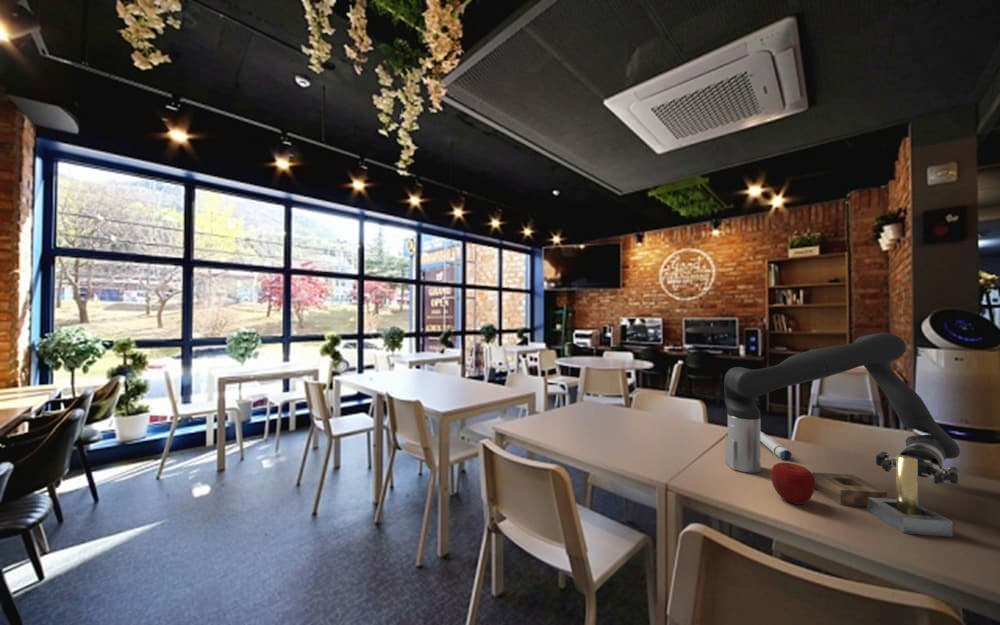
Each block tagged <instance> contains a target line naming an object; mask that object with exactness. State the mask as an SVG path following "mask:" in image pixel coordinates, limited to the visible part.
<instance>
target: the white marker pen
mask: <svg viewBox="0 0 1000 625" xmlns="http://www.w3.org/2000/svg"><path fill="white" fill-rule="evenodd" d="M760 443H762V444H763V445H765V447H766V448H768V449H769V450H770V451H771V452H772V454H774V455H775V456H776V457H778V458H780V459H781V460H782V461H791V459H793V453H791V451H789V449H788V448H787V447H785V445H783V444H780V443H779V442H778V441H776V440H775V439H773V438H771V437H770V436H768V435H767V434H766V433H764V432H762V431H761V430H760Z"/></svg>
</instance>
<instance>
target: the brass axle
mask: <svg viewBox="0 0 1000 625" xmlns="http://www.w3.org/2000/svg"><path fill="white" fill-rule="evenodd" d="M895 456H896V469H895V499H896V510H898V511H900V512H902V513H903V514H908V515H918V504H919V482H918V481H919V480H918V479H919V476H918V460H917V459H916V458H914V457H910V456H905V455H900V454H896V455H895Z"/></svg>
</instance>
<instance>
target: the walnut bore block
mask: <svg viewBox="0 0 1000 625" xmlns="http://www.w3.org/2000/svg"><path fill="white" fill-rule="evenodd" d="M811 473H812V475H813V476H814V480H815V489H816V490H818V491H820V493H823V494H824V495H826V496H827V497H828V498H830V499H832V500H833V501H834V502H836V503H838V504H839V505H840V506H844V505H845V506H857V507H858V506H859V507H860V506H861V507H867V497H871V498H887V499H888V496H887V495H888V492H887V491H886V490H883V489H881V488H880V487H878V486H876V485H874V484H871V483H870V482H868V481H866V480H864V479H863V478H861V477H859V476H857V475H855V474H848V473H847V474H845V473H830V472H829V473H828V472H812V471H811Z"/></svg>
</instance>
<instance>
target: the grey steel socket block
mask: <svg viewBox="0 0 1000 625" xmlns="http://www.w3.org/2000/svg"><path fill="white" fill-rule="evenodd" d="M866 511H867V512H868V513H870V514H872V515H873V516H876V517H877V518H878V519H880V520H882V521H883V522H884V523H886V524H888V525H890V526H891V527H892V528H894V529H896V530H897V531H899V532H900V533H902V534H910V535H924V536H938V537H950V538H951V537H952V538H953V530H954V529H953V527H954V525H953V521H952V520H951V519H948V518H947V517H945V516H943V515H941V514H939V513H937V512H936V511H933V510H931V509H930V508H927V507H926V506H923V505H922V504H919V503H918V515H908V514H903V513H902V512H900V511H898V510H896V498H888V497H887V498H871V497H867V506H866Z"/></svg>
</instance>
